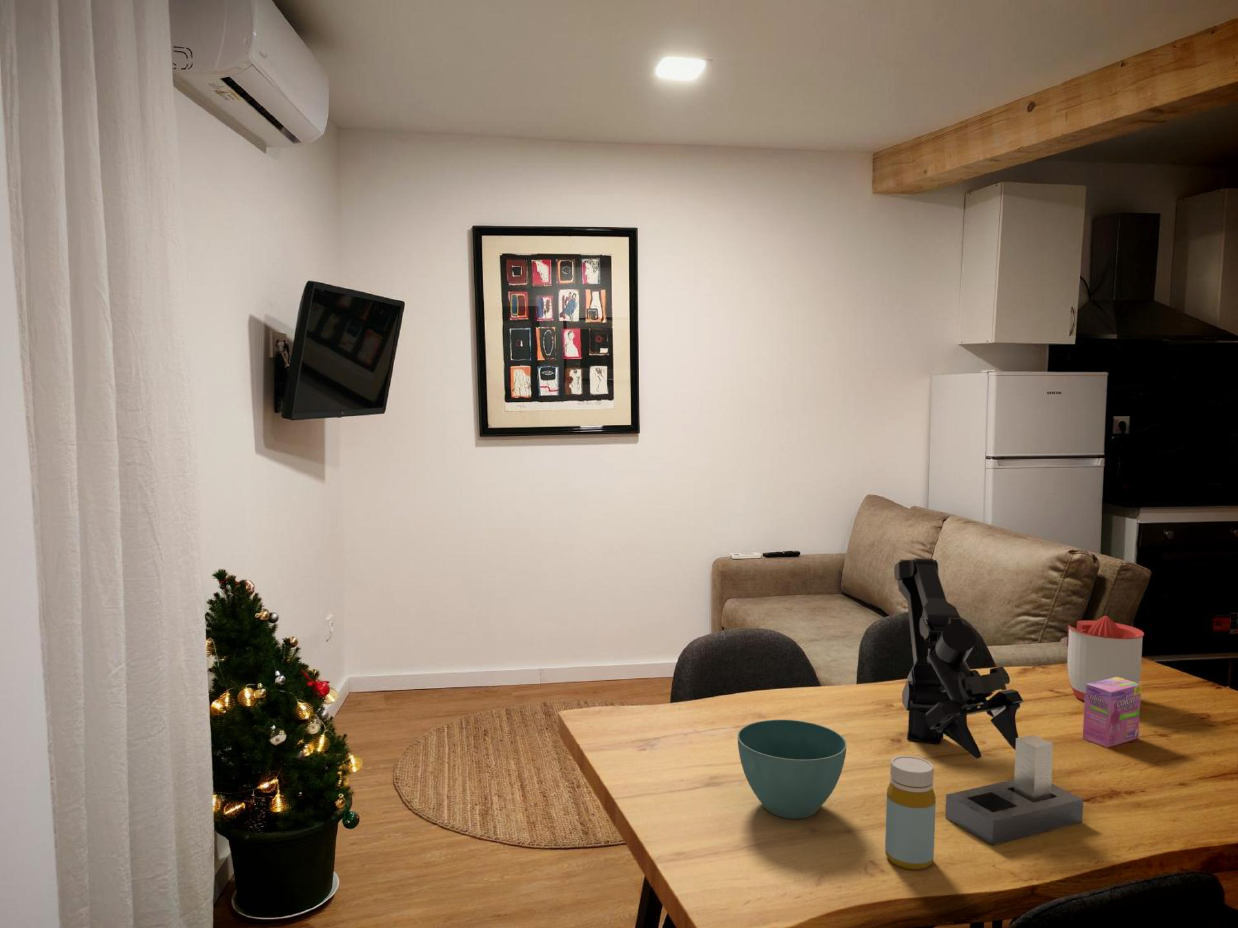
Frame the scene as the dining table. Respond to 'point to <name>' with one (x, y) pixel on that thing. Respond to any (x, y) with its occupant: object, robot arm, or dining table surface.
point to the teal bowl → (791, 764)
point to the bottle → (910, 813)
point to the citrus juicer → (1102, 653)
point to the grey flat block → (1011, 812)
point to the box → (1111, 711)
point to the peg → (1033, 768)
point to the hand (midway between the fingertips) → (999, 753)
